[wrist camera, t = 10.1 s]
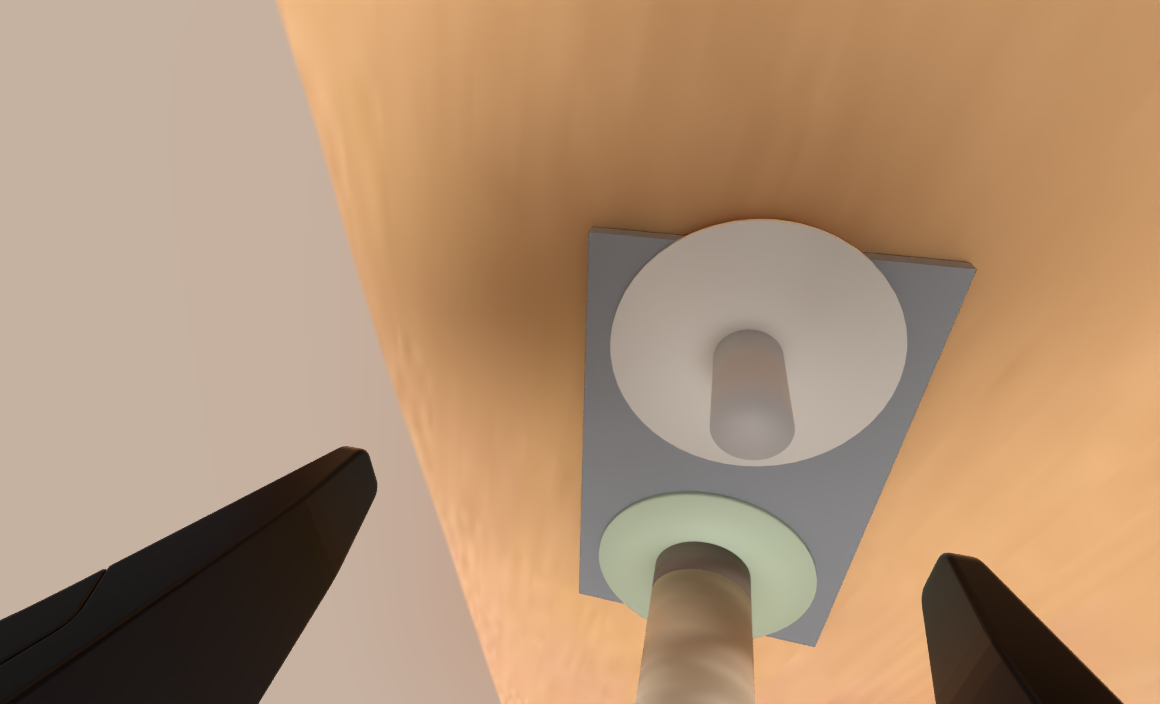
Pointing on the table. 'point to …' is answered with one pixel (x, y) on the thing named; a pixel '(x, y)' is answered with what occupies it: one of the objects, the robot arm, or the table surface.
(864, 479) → the board
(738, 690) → the sleeve
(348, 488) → the robot arm
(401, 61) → the table surface
